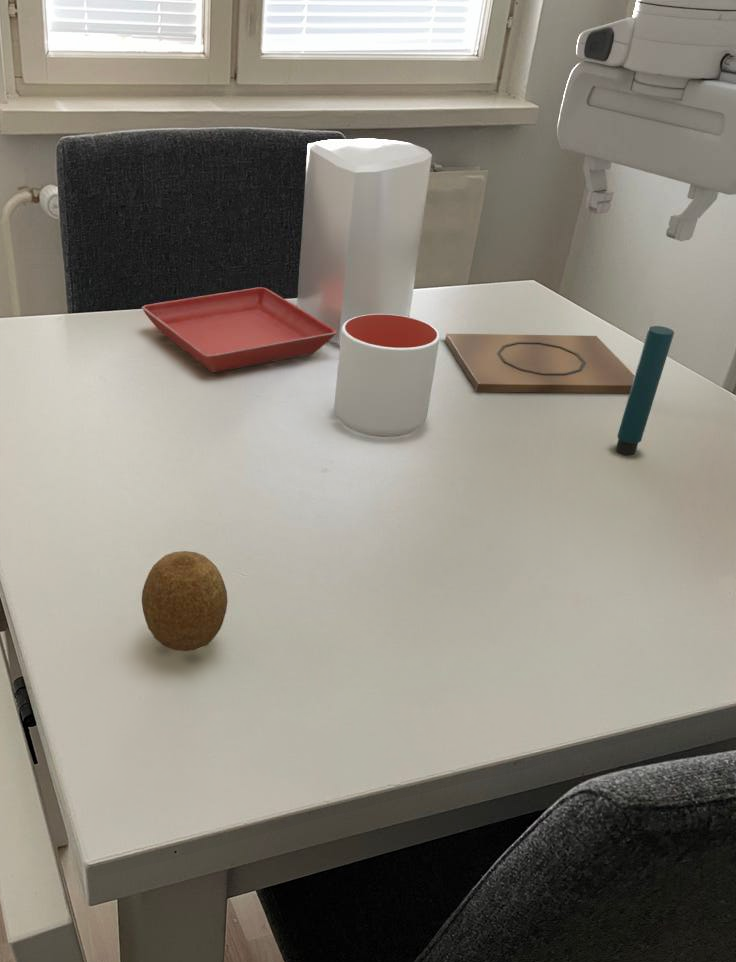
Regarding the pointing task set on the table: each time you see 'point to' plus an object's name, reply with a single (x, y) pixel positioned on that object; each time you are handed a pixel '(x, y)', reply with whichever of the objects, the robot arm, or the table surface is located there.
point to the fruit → (184, 601)
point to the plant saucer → (239, 328)
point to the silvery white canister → (361, 228)
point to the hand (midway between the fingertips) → (635, 224)
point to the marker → (643, 389)
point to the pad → (539, 363)
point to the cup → (385, 374)
